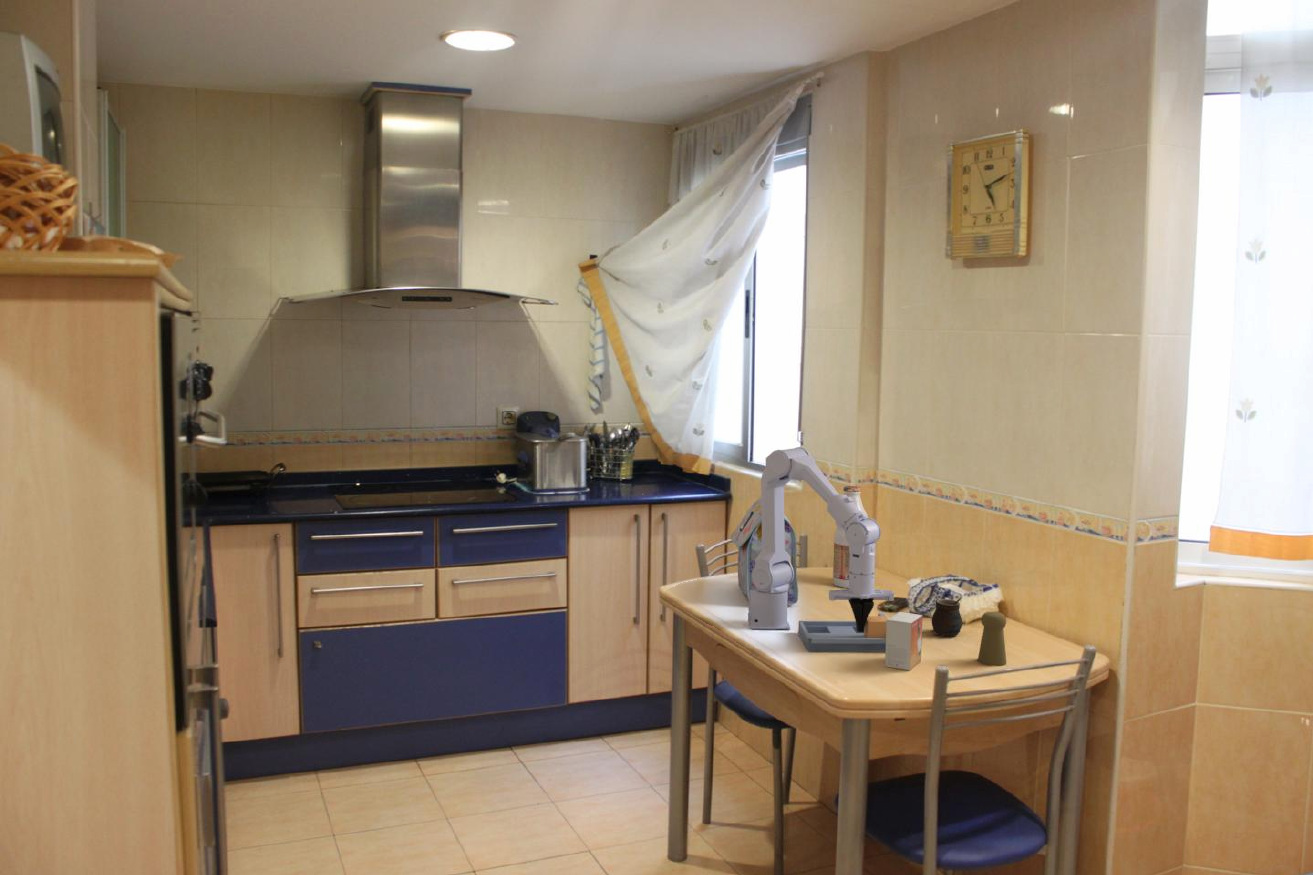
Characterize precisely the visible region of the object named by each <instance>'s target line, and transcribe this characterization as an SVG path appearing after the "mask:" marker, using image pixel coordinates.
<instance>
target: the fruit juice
mask: <svg viewBox="0 0 1313 875" xmlns="http://www.w3.org/2000/svg"><path fill="white" fill-rule="evenodd" d="M843 494H844V495H847V497H851V498H852V499H853V503H854V504H855V505H856V507H857V508H858V509H859V510H860V511H861V512H862V513H864V514H865V515H866V517H867V518H869V516H868V515H869V514H868V513H867V511H866V510H865V508H864V505H863V502H862V498H861V494H862V487H860V486H856V485H845V486H843ZM835 525H836V530H835V532H834V536H833V569H832V570H833V571H832V582H833V585H834V586H835V587H838V588H843V589H849V561H850V551H849V544H848V542H847V541H846V538H845V531H844V530H843V529H842V527H841V526H840V525H839V524H838V523H837V522H836V521H835Z"/></svg>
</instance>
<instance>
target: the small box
mask: <svg viewBox="0 0 1313 875" xmlns="http://www.w3.org/2000/svg"><path fill="white" fill-rule="evenodd" d="M923 619H924V616H923V614H915V613H909V612H902V611H898V612H897V613H896V614H894V615H892V616H891V617H889V618H887V624H886V652H885V656H884V657H885V663H884V664H885V667H887V668H893V669H899V670H905V671H911V670H912V669H913V668H914V667H916V666H917V665H918V664H921V662H922V644H923V642H922V638H923Z"/></svg>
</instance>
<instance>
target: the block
mask: <svg viewBox="0 0 1313 875" xmlns="http://www.w3.org/2000/svg"><path fill="white" fill-rule="evenodd" d="M886 618H887V617H886ZM886 618H885V617H884V616H878V615H877V616H876V615H875V616H873V615H871V616H870V615H869V616H868V618H867V621H866V624H865V627H864V636H865V637H866V638H886V624H887V619H888V618H887V619H886Z"/></svg>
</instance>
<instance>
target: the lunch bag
mask: <svg viewBox="0 0 1313 875" xmlns="http://www.w3.org/2000/svg"><path fill="white" fill-rule="evenodd" d="M784 528H785V551H786V552H787V553H788V554H789V555H790V557H791V564H792V567H793V570H794V578H793V581H792V582H791V583H790V584H789V588H788V598H787V606H792V605H795V604H798V601H799V587H798V574H797V554H798V548H797V547H798V546H797V542H798V541H797V535H796V531H795V529H794V527H793V526H792V523H791V522H790V520H789V518H788V516H786V514H784ZM730 541H731V542H732V543H733V544H734V545H735V546H736V547H737V548H738V549H737V553H738V554H737V579H738V588H739V589H741V591H742V593H743V594H744V597H745V598H746V601H747V603H748V604H749V591H750V590H755V589H757V588H756V586H755V585H754V583H753V580H752V573H753V570H754V567H755V559H756V558H757V557H758V555H759V554H760V553H761V551H762V509H761V498H757V499H756V500H755V502H754V503H753V504H752V506H751V507H750V508H749V509H747V511H746V513H745V514H744V516H743V518H742V519H741V521H739V524H738V525H737V527H736V528H735V529H734V530H733V532H732V533H731V535H730Z"/></svg>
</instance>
